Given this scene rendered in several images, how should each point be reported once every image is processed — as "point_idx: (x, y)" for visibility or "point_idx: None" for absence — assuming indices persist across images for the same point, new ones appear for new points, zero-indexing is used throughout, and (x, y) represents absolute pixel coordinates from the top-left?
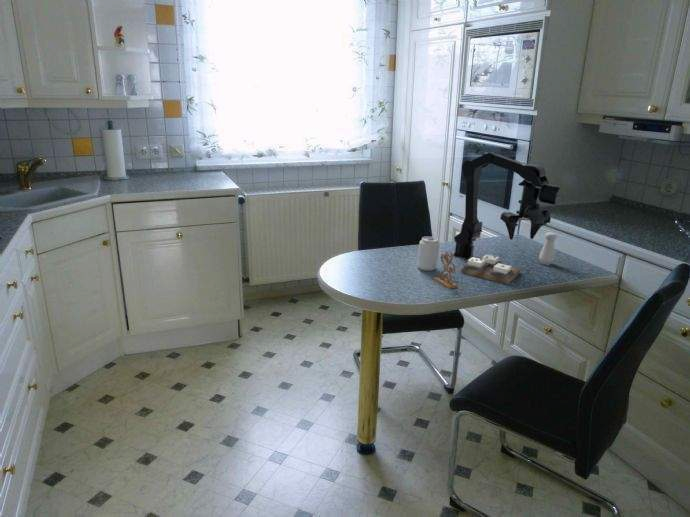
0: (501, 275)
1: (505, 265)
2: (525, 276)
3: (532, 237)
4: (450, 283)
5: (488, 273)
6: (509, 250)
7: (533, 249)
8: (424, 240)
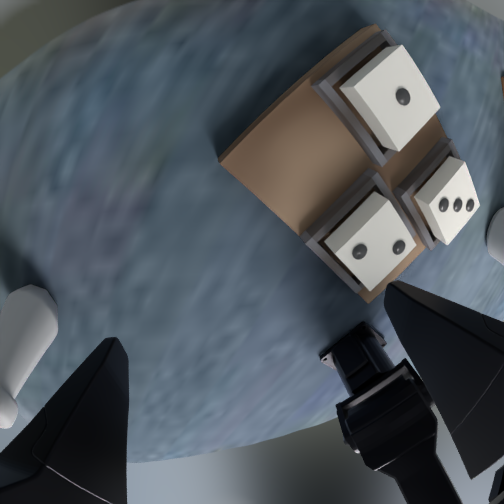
0: None
1: (381, 105)
2: (205, 112)
3: (109, 349)
4: None
5: None
6: (149, 406)
7: None
8: None
